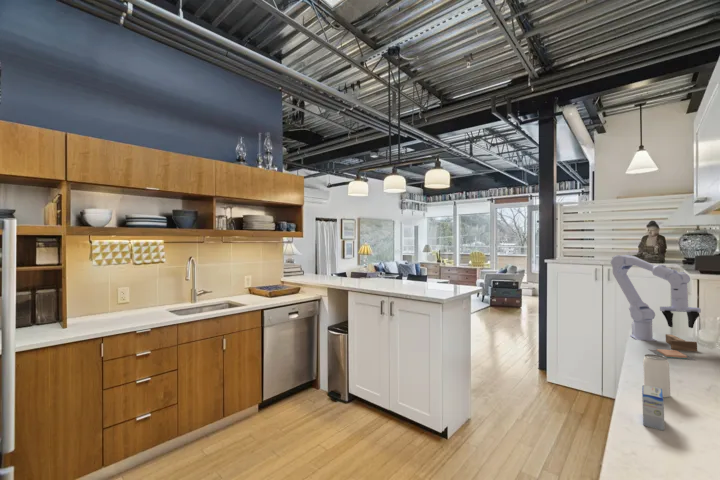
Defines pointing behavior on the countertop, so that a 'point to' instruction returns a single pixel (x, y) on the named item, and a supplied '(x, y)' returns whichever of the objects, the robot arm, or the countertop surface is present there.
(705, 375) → the countertop surface
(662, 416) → the medicine box
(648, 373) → the can
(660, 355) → the mat
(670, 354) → the tile
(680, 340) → the wooden t-shaped piece
